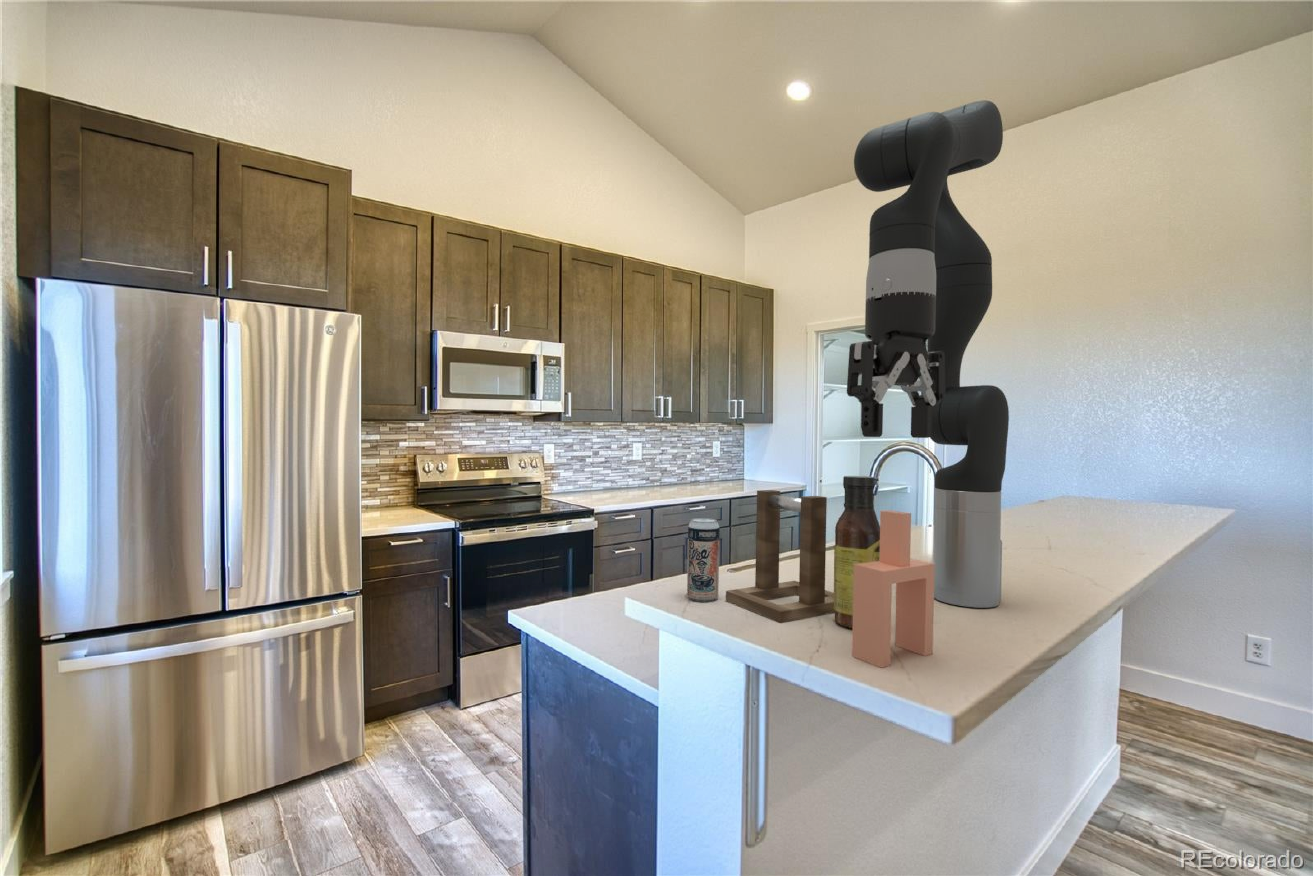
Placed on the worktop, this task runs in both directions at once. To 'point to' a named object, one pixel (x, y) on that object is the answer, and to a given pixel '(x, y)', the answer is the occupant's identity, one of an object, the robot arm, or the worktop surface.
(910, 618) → the orange arch with tab
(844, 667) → the worktop surface
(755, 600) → the brown wooden post stand
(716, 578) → the beer can
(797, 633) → the worktop surface
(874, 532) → the sauce bottle
